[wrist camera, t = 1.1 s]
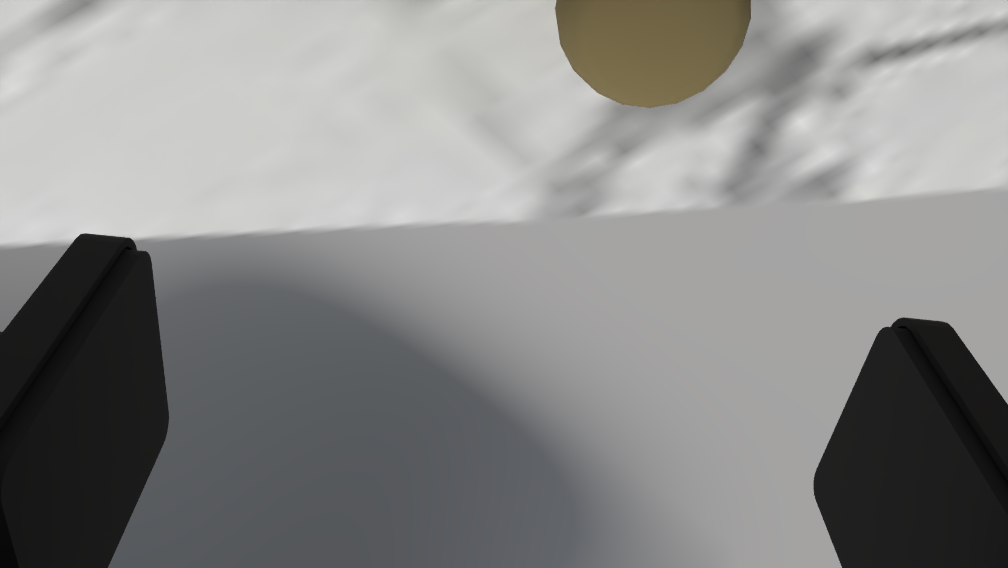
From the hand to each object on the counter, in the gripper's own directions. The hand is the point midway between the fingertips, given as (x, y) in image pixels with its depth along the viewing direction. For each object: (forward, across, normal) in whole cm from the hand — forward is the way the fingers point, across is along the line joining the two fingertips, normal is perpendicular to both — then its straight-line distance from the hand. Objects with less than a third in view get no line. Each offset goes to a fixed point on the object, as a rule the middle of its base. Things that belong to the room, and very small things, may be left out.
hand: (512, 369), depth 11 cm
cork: (+24, -4, -1) cm, 25 cm away
